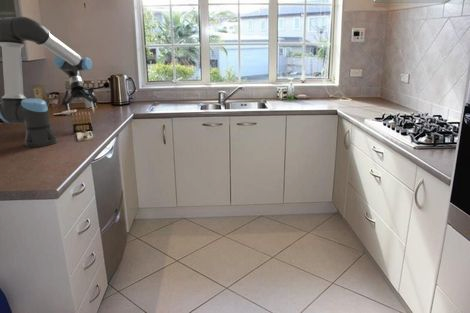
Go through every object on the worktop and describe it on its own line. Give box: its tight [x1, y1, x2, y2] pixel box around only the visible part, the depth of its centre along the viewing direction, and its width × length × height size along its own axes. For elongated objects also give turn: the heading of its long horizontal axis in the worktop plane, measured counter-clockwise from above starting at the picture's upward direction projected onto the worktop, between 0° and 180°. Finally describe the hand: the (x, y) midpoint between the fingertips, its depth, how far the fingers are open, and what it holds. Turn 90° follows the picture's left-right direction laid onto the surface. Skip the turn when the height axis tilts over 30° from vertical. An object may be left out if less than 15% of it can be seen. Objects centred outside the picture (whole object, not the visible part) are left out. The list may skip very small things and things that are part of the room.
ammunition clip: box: [71, 111, 94, 134], centre depth 228 cm, size 11×2×12 cm, turn 109°
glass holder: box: [79, 88, 97, 108], centre depth 314 cm, size 9×14×15 cm, turn 77°
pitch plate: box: [76, 130, 95, 142], centre depth 215 cm, size 8×17×2 cm, turn 24°
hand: (81, 112), depth 231 cm, fingers open, 13 cm apart
